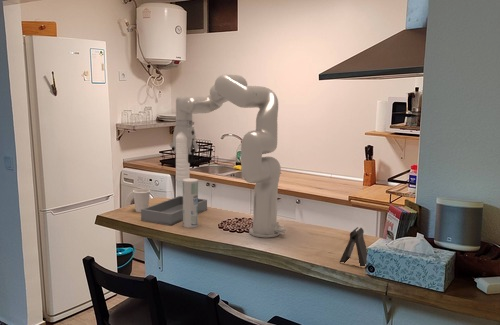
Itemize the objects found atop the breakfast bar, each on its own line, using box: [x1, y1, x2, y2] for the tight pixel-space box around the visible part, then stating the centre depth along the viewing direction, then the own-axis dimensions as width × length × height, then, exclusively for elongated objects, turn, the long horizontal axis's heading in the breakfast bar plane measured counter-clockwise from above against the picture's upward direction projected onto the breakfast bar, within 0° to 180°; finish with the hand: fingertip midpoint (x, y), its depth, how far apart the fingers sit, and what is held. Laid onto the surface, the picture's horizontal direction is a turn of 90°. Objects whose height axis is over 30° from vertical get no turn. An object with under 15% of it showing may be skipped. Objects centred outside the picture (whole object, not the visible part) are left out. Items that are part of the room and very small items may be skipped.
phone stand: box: [339, 226, 368, 266], centre depth 149 cm, size 9×6×12 cm, turn 59°
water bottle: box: [175, 131, 191, 182], centre depth 206 cm, size 9×6×25 cm
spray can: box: [182, 178, 199, 229], centre depth 186 cm, size 6×6×20 cm
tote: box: [140, 195, 208, 226], centre depth 203 cm, size 16×30×5 cm, turn 155°
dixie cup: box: [131, 188, 151, 213], centre depth 209 cm, size 8×8×10 cm
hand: (184, 161), depth 206 cm, fingers closed on water bottle, 6 cm apart
